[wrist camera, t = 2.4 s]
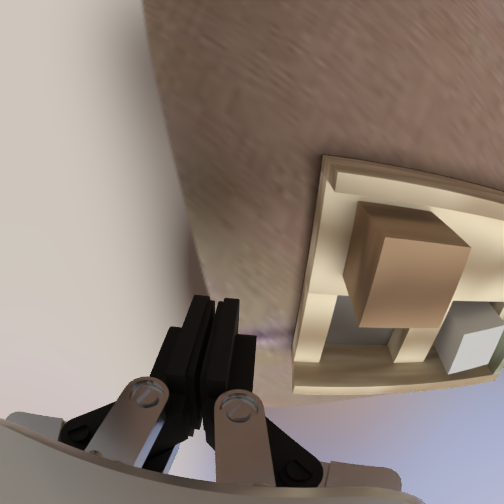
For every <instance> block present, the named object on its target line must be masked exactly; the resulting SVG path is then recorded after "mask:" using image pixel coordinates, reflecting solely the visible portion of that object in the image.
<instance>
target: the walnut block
mask: <svg viewBox="0 0 504 504" xmlns="http://www.w3.org/2000/svg"><path fill="white" fill-rule="evenodd" d="M470 251H471V247H470V246H469V245H468V244H467V243H466V242H465V241H464V240H463V239H462V238H461V237H460V236H458V235H457V234H456V233H455V232H454V231H453V230H452V229H451V228H450V227H449V226H447V225H446V224H445V223H444V222H443V221H442V220H441V219H439V218H438V217H437V216H436V215H435V214H434V213H432V212H431V211H426V210H419V209H413V208H407V207H400V206H394V205H387V204H380V203H372V202H365V201H358V204H357V209H356V214H355V219H354V225H353V230H352V234H351V239H350V244H349V249H348V253H347V258H346V262H345V267H344V271H343V275H342V276H343V279H344V282H345V285H346V288H347V291H348V294H349V297H350V301H351V304H352V307H353V310H354V313H355V316H356V320H357V323H358V326H359V327H368V328H439V327H440V325H441V322H442V320H443V318H444V316H445V314H446V312H447V309H448V307H449V305H450V302H451V300H452V298H453V295H454V293H455V291H456V288H457V286H458V283H459V281H460V278H461V276H462V273H463V270H464V268H465V265H466V262H467V259H468V257H469V254H470Z"/></svg>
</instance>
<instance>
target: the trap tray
mask: <svg viewBox="0 0 504 504" xmlns="http://www.w3.org/2000/svg"><path fill="white" fill-rule="evenodd" d="M358 201H365V202H372V203H380V204H387V205H394V206H400V207H407V208H413V209H419V210H426V211H431V212H432V213H434V214H435V215H436V216H437V217H438V218H439V219H441V220H442V221H443V222H444V223H445V224H446V225H447V226H449V227H450V228H451V229H452V230H453V231H454V232H455V233H456V234H457V235H458V236H460V237H461V238H462V239H463V240H464V241H465V242H466V243H467V244H468V245H469V246H470V247H471V251H470V254H469V257H468V259H467V262H466V265H465V268H464V270H463V273H462V276H461V278H460V281H459V283H458V286H457V288H456V291H455V293H454V295H453V298H452V300H451V302H450V305H449V307H448V309H447V312H446V314H445V316H444V318H443V320H442V322H441V325H440V327H439V328H368V327H359V326H358V323H357V320H356V316H355V313H354V310H353V307H352V304H351V301H350V297H349V294H348V291H347V288H346V285H345V282H344V279H343V276H342V275H343V271H344V267H345V262H346V258H347V253H348V249H349V244H350V239H351V234H352V230H353V225H354V219H355V214H356V209H357V204H358ZM453 301H488V302H489V303H490V305H491V306H492V307H493V308H494V310H495V311H496V312H497V314H498V315H499V316H500V318H501V319H502V320H503V322H504V192H503V191H500V190H496V189H493V188H489V187H486V186H482V185H479V184H475V183H471V182H467V181H463V180H459V179H455V178H451V177H447V176H443V175H438V174H434V173H429V172H425V171H420V170H415V169H410V168H405V167H400V166H394V165H389V164H383V163H378V162H372V161H366V160H359V159H353V158H346V157H339V156H331V155H324V154H322V161H321V169H320V177H319V185H318V192H317V200H316V207H315V214H314V221H313V227H312V234H311V240H310V247H309V253H308V259H307V265H306V271H305V277H304V283H303V288H302V294H301V300H300V305H299V310H298V316H297V321H296V326H295V331H294V336H293V341H292V346H291V358H292V388H293V394H306V395H367V394H389V393H404V392H416V391H427V390H436V389H445V388H452V387H460V386H466V385H473V384H479V383H484V382H490V381H494V380H495V379H496V378H497V376H498V375H499V373H500V372H501V370H502V369H503V368H504V330H503V332H502V335H501V337H500V339H499V342H498V344H497V346H496V348H495V350H494V352H493V354H492V357H491V359H490V361H489V363H488V364H486V365H483V366H479V367H475V368H472V369H468V370H464V371H460V372H456V373H452V374H447V372H446V370H445V368H444V365H443V363H442V361H441V359H440V357H439V355H438V353H437V351H436V349H435V347H434V345H433V342H434V340H435V338H436V336H437V334H438V332H439V330H440V328H441V326H442V324H443V322H444V320H445V318H446V315H447V313H448V311H449V309H450V307H451V304H452V302H453Z"/></svg>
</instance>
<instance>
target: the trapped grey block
mask: <svg viewBox="0 0 504 504" xmlns="http://www.w3.org/2000/svg"><path fill="white" fill-rule="evenodd" d="M503 330H504V322H503V320H502V319H501V318H500V316H499V315H498V314H497V312H496V311H495V310H494V308H493V307H492V306H491V305H490V303H489V302H488V301H453V302H452V304H451V307H450V309H449V311H448V313H447V315H446V318H445V320H444V322H443V324H442V326H441V328H440V330H439V332H438V334H437V336H436V338H435V340H434V342H433V345H434V347H435V349H436V351H437V353H438V355H439V357H440V359H441V361H442V363H443V365H444V368H445V370H446V372H447V374H452V373H456V372H460V371H464V370H468V369H472V368H475V367H479V366H483V365H486V364H488V363H489V361H490V359H491V357H492V354H493V352H494V350H495V348H496V346H497V344H498V342H499V339H500V337H501V335H502V332H503Z"/></svg>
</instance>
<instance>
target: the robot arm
mask: <svg viewBox="0 0 504 504" xmlns="http://www.w3.org/2000/svg"><path fill="white" fill-rule="evenodd" d="M238 321H239V299H232V298H225V299H224V302H222V301H219V302H218V305H217V309H216V313H215V301H212V300H210V297H209V296H201V295H194V297H193V300H192V302H191V305H190V307H189V310H188V313H187V316H186V318H185V321H184V323H183V326H182V328H180V327H170V328H169V330H168V332H167V335H166V337H165V339H164V342H163V344H162V347H161V350H160V352H159V355H158V357H157V359H156V362H155V364H154V367H153V369H152V372H151V374H150V377H140V378H137V379H134V380H133V381H131V382H130V383H129V384H128V385H127V386H126V387H125V389H124V390H123V392H122V393H121V395H120V396H119V398H118V399H117V401H116V402H113V403H111V404H108V405H106V406H103V407H101V408H98V409H96V410H94V411H91V412H88V413H86V414H84V415H81V416H78V417H76V418H74V419H71V420H69V421H68V422H66V421H64V420H63V419H62V418H55V417H48V416H42V415H36V414H30V413H25V412H14V413H12V414H10V415H9V416H8V417H7V418H6V420H4V419H0V504H425V503H424V502H423V501H422V500H421V499H419V498H417V497H415V496H413V495H410V494H408V493H405V492H401V486H402V484H401V478H400V477H399V475H398V474H397V473H396V472H395V471H393V470H392V469H389V468H384V467H373V466H364V465H355V464H348V463H341V462H334V461H331V462H330V463H325V462H320V461H318V459H317V458H316V457H314V456H313V455H312V454H311V453H309V452H308V451H307V450H305V449H304V448H303V447H301V446H300V445H299V444H298V443H297V442H295V441H294V440H293V439H292V438H290V437H289V436H288V435H287V434H285V433H284V432H283V431H282V430H281V429H279V428H278V427H277V426H276V425H275V424H274V423H273V422H271V421H270V420H269V419H268V418H267V417H266V416H265V412H264V406H263V403H262V401H261V400H260V398H259V397H258V396H257V395H255V394H254V393H252V390H253V377H254V364H255V351H256V337H257V336H254V335H243V334H238ZM202 417H203V426H204V430H205V432H206V442H207V443H208V444H209V445H210V446H211V447H212V448H213V449H214V450H215V457H216V458H215V460H216V482H209V481H203V480H196V479H189V478H184V477H179V476H174V475H169V474H168V472H169V470H170V468H171V465H172V463H173V461H174V459H175V456H176V454H177V452H178V449H179V445H180V443H181V442H183V441H185V440H186V439H188V436H192V437H193V434H194V429H198V430H199V429H200V427H201V422H202Z"/></svg>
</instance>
